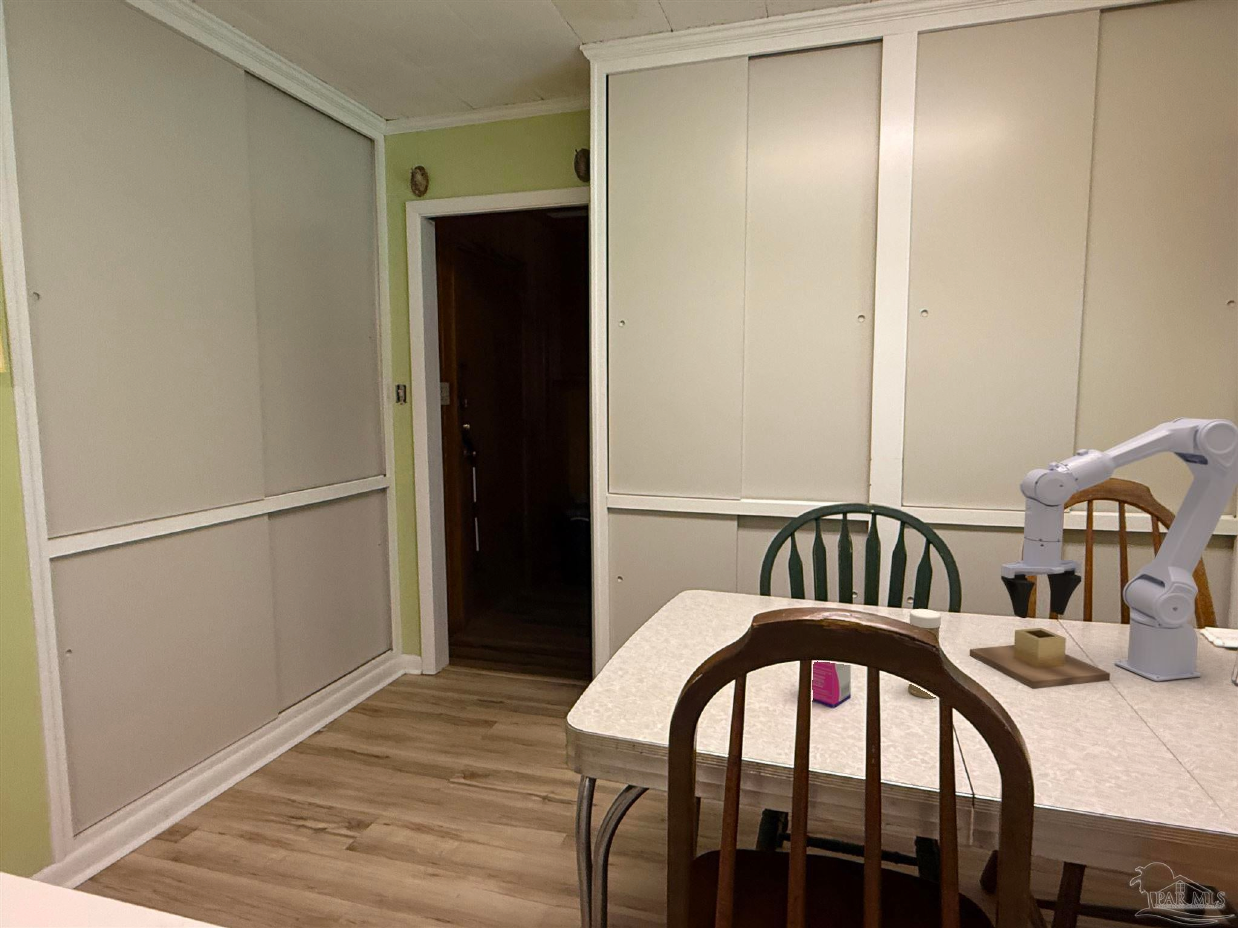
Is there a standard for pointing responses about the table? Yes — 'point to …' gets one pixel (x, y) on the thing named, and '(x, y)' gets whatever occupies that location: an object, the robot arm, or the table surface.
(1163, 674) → the robot arm
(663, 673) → the table surface
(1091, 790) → the table surface
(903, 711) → the table surface
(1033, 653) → the small tan open box
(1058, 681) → the post stand
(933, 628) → the sprinkles bottle
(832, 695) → the supplement box
